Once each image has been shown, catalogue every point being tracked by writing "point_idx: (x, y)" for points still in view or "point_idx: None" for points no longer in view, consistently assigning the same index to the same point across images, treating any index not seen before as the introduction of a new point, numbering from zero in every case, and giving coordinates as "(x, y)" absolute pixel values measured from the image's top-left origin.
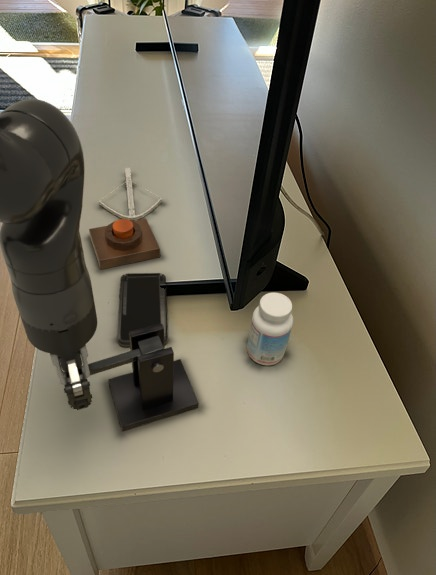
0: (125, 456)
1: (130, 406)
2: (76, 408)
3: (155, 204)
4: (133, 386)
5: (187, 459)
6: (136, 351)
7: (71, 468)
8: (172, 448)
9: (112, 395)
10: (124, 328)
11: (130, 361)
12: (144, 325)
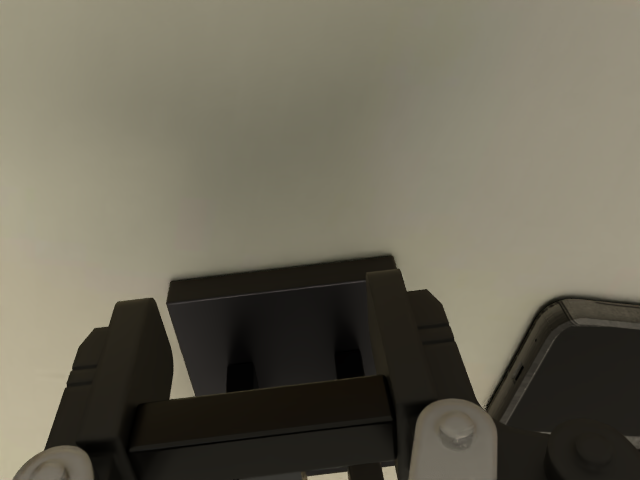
0: (64, 281)
1: (251, 333)
2: (77, 356)
3: None
4: (336, 348)
5: (50, 426)
6: None
7: (10, 93)
8: None
9: (327, 270)
10: (614, 340)
11: None
12: (591, 393)
